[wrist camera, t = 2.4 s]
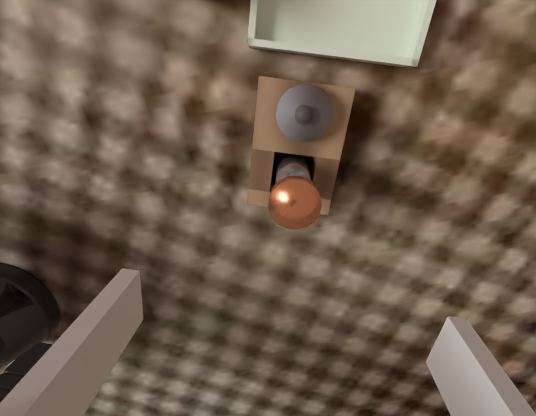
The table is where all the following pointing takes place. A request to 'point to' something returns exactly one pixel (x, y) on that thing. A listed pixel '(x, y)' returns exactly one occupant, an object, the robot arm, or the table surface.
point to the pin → (294, 194)
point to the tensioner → (298, 133)
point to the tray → (343, 29)
